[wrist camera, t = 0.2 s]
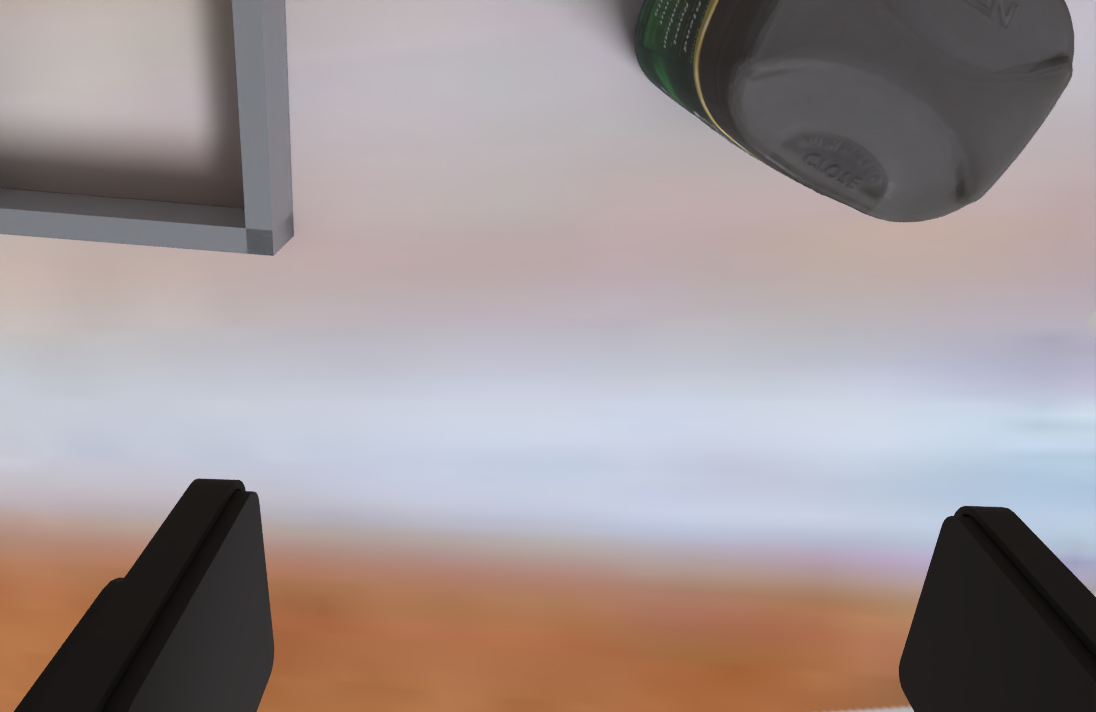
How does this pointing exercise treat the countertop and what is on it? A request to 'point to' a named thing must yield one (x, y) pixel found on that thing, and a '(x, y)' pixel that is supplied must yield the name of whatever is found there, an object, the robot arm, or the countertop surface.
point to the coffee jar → (867, 89)
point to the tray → (191, 224)
